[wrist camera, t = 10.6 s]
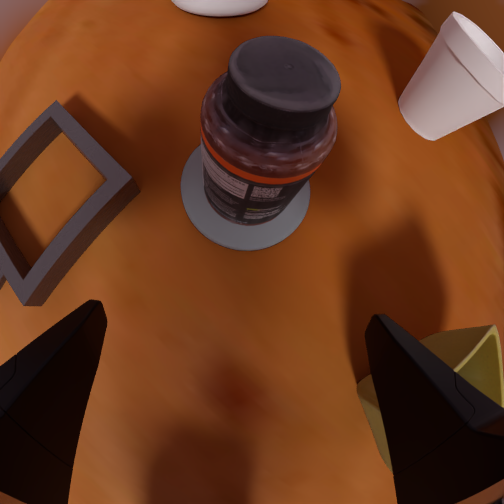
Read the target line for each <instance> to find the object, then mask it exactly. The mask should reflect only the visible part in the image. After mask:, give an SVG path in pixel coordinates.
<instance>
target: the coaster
mask: <svg viewBox="0 0 504 504" xmlns="http://www.w3.org/2000/svg"><path fill="white" fill-rule="evenodd" d="M181 195H182V200H183V204H184V207H185V210H186V213H187V215H188V217H189V219H190V220H191V222H192V223H193V225H194V226H195V227H196V228H197V229H198V230H199V231H200V233H202V234H203V235H204V236H205V237H206V238H208V239H209V240H211V241H213V242H214V243H216V244H218V245H221V246H223V247H226V248H229V249H234V250H240V251H253V250H260V249H265V248H268V247H270V246H273V245H275V244H277V243H279V242H281V241H282V240H284V239H285V238H286V237H288V236H289V235H290V234H291V233H292V232H293V231H294V230H295V229H296V228H297V227H298V226H299V224H300V223H301V222H302V220H303V218H304V216H305V214H306V212H307V209H308V205H309V201H310V184H309V180H308V181H307V182H306V184H305V185H304V186H303V187H302V188H301V190H300V191H299V192H298V193H297V195H296V196H295V197H294V198H293V200H292V201H291V202H290V203H289V205H288V206H287V207H286V208H285V209H284V211H283V212H281V213H280V214H279V215H278V216H277V217H276V218H274V219H273V220H271V221H269V222H267V223H264V224H261V225H255V226H244V225H239V224H234V223H231V222H229V221H227V220H225V219H224V218H222V217H221V216H220V215H218V214H217V213H216V212H215V211H214V210H213V208H212V207H211V206H210V204H209V203H208V200H207V198H206V195H205V192H204V185H203V171H202V152H201V144H200V145H199V146H198V147H197V148H196V149H195V150H194V151H193V153H192V154H191V155H190V157H189V159H188V160H187V162H186V164H185V167H184V169H183V173H182V177H181Z"/></svg>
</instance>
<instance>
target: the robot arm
mask: <svg viewBox="0 0 504 504" xmlns="http://www.w3.org/2000/svg"><path fill="white" fill-rule="evenodd" d="M106 328H107V317H106V314H105V311H104V308H103V304H102V302H101V301H99V300H88V301H87V302H85V303H84V304H82V305H81V306H80V307H78V308H77V309H75V310H74V311H73V312H71V313H70V314H69V315H67V316H66V317H64V318H63V319H62V320H60V321H59V322H58V323H56V324H55V325H53V326H52V327H51V328H49V329H48V330H47V331H45V332H44V333H43V334H41V335H40V336H39V337H37V338H36V339H35V340H33V341H32V342H31V343H30V344H28V345H27V346H26V347H24V348H23V349H22V350H20V351H19V352H18V353H17V355H14V356H13V357H12V358H10V359H9V360H8V361H6V362H5V363H4V364H3V365H1V366H0V504H68V498H69V490H70V484H71V477H72V471H73V465H74V459H75V454H76V449H77V444H78V439H79V435H80V431H81V426H82V422H83V418H84V414H85V410H86V406H87V403H88V399H89V395H90V392H91V388H92V385H93V381H94V378H95V375H96V371H97V368H98V364H99V360H100V355H101V351H102V346H103V341H104V337H105V332H106ZM365 342H366V347H367V353H368V359H369V366H370V371H371V376H372V380H373V384H374V388H375V392H376V396H377V400H378V404H379V408H380V413H381V417H382V421H383V426H384V430H385V435H386V440H387V444H388V449H389V455H390V460H391V465H392V471H393V475H394V476H393V478H394V484H395V490H396V497H397V504H504V408H503V407H501V406H500V405H499V404H497V403H496V402H494V401H493V400H492V399H490V398H489V397H488V396H486V395H485V394H483V393H482V392H481V391H479V390H478V389H477V388H475V387H474V386H473V385H471V384H470V383H469V382H468V381H466V380H465V379H464V378H463V377H461V376H460V375H459V374H458V373H457V372H456V371H454V370H453V369H452V368H451V367H450V366H448V365H447V364H446V363H445V362H444V361H442V360H441V359H440V358H439V357H437V356H436V355H435V354H434V353H433V352H431V351H430V350H429V349H428V348H427V347H425V346H424V345H423V344H422V343H420V342H419V341H418V340H417V339H415V338H414V337H413V336H412V335H410V334H409V333H408V332H407V331H406V330H404V329H403V328H402V327H401V326H399V325H398V324H397V323H395V322H394V321H393V320H392V319H390V318H389V317H388V316H387V315H385V314H374V315H373V316H372V318H371V320H370V322H369V324H368V326H367V329H366V331H365Z"/></svg>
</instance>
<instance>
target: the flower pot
mask: <svg viewBox="0 0 504 504" xmlns="http://www.w3.org/2000/svg"><path fill="white" fill-rule="evenodd" d="M419 342H420V343H422V344H423V345H424V346H425V347H427V348H428V349H429V350H430V351H431V352H433V353H434V354H435V355H436V356H437V357H439V358H440V359H441V360H442V361H444V362H445V363H446V364H447V365H448V366H450V367H451V368H452V369H453V370H454V371H456V372H457V373H458V374H459V375H460V376H461V377H463V378H464V379H465V380H466V381H468V382H469V383H470V384H471V385H473V386H474V387H475V388H477V389H478V390H479V391H481V392H482V393H483V394H485V395H486V396H488V397H489V398H490V399H492V400H493V401H494V402H496V403H497V404H499V405H500V406H501V407H503V408H504V380H503V367H502V355H501V347H500V340H499V334H498V331H497V328H496V325H488V326H481V327H473V328H465V329H456V330H449V331H443V332H439V333H435V334H432V335H430V336H427V337H425V338H423V339H421V340H419ZM357 393H358V396H359V399H360V401H361V404H362V406H363V409H364V411H365V414H366V416H367V419H368V422H369V424H370V427H371V430H372V433H373V436H374V438H375V442H376V445H377V447H378V450H379V452H380V455H381V457H382V459H383V461H384V462H385V464H386V465H387V467H388V468H389V469H390V471H391V472H392V473H393V471H392V465H391V460H390V455H389V449H388V444H387V440H386V435H385V430H384V426H383V421H382V417H381V413H380V408H379V404H378V400H377V396H376V392H375V388H374V384H373V380H372V376H371V374H370V375H368V376H366V377H365V378H363V379H362V380H361V381H360V382H359V383H358V385H357Z"/></svg>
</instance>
